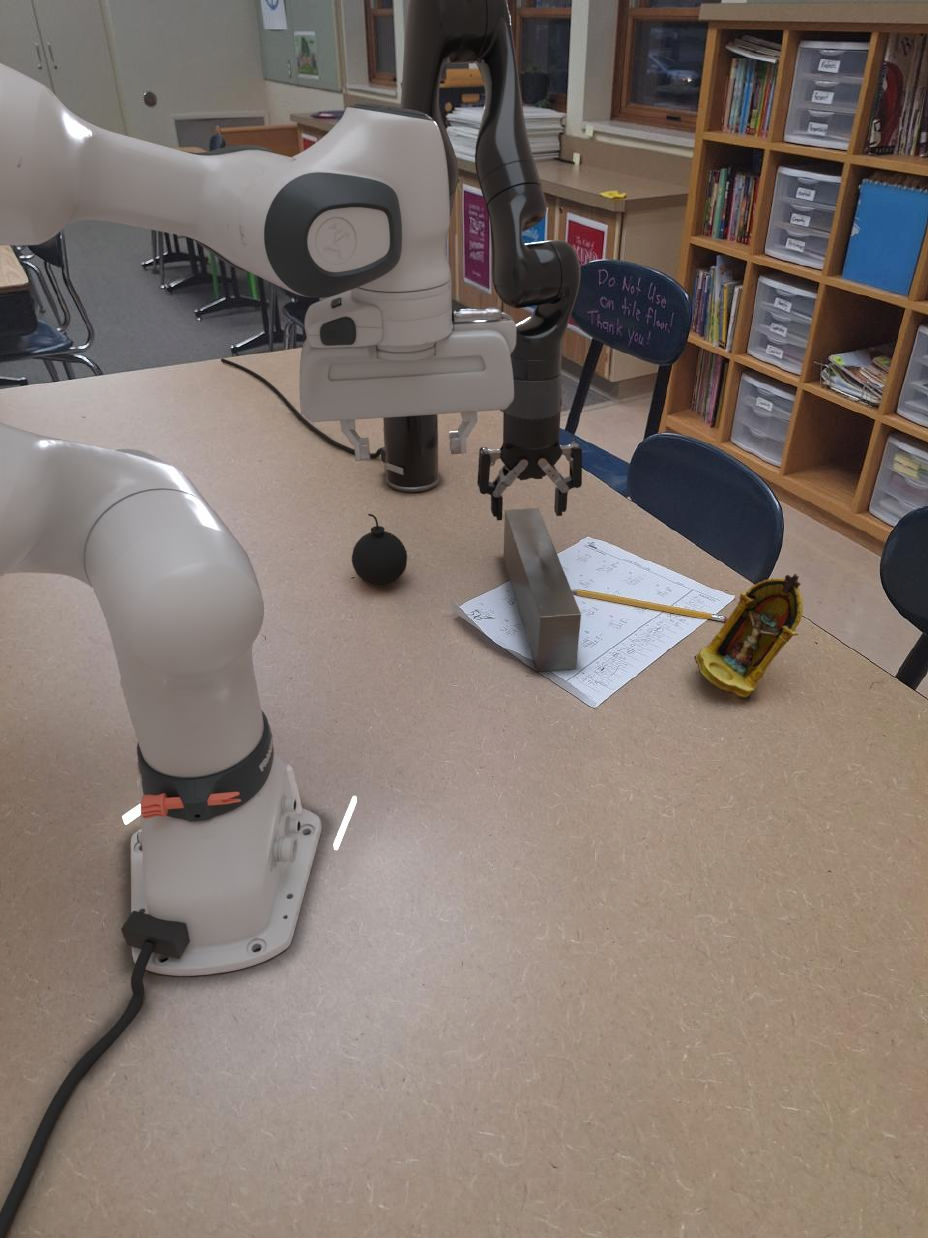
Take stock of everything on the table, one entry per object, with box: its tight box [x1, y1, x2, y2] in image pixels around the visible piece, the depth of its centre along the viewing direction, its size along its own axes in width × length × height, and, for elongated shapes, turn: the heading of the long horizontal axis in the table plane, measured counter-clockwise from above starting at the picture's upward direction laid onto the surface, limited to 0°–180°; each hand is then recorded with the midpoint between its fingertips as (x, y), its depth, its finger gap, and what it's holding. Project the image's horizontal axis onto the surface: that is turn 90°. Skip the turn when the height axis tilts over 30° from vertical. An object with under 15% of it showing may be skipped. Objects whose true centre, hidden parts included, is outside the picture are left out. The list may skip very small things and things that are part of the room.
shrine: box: [693, 573, 804, 701], centre depth 102 cm, size 12×8×15 cm
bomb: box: [351, 513, 408, 587], centre depth 122 cm, size 8×8×12 cm
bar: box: [502, 507, 582, 673], centre depth 118 cm, size 27×5×8 cm, turn 7°
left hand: (410, 454), depth 85 cm, fingers open, 8 cm apart
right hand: (528, 515), depth 122 cm, fingers open, 8 cm apart
